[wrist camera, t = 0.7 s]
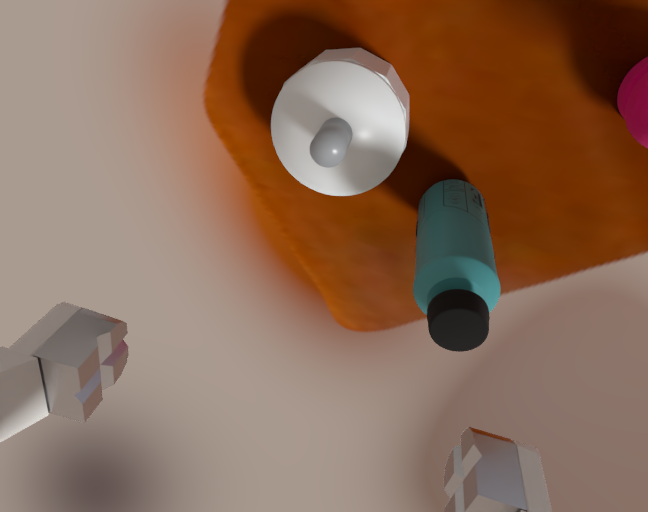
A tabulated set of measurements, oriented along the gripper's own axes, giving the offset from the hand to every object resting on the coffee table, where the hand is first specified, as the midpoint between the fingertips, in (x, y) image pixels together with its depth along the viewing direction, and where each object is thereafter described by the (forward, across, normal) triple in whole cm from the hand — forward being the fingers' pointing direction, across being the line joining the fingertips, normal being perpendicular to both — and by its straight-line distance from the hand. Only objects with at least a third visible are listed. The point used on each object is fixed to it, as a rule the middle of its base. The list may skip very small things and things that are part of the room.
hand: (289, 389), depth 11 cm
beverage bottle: (+38, -9, +10) cm, 40 cm away
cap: (+37, +3, +5) cm, 38 cm away
